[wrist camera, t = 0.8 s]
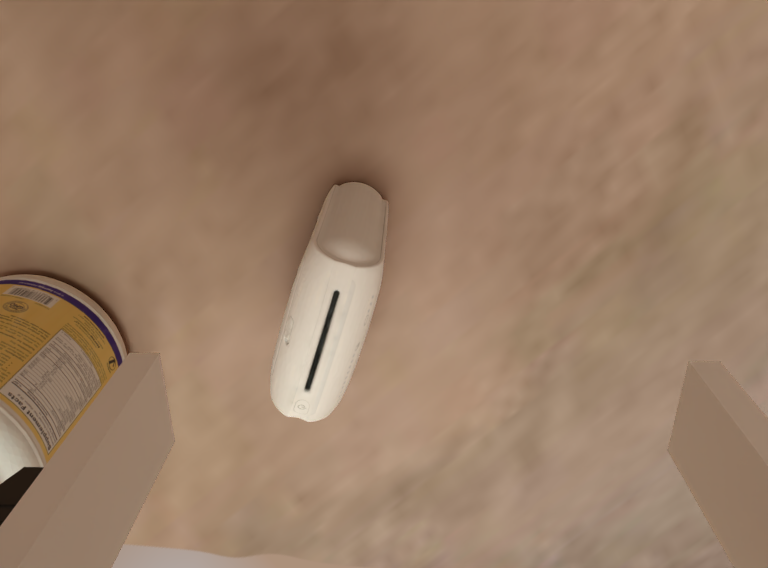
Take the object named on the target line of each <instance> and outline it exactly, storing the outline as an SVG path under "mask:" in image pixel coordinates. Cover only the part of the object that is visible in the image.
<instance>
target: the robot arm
mask: <svg viewBox="0 0 768 568" xmlns="http://www.w3.org/2000/svg"><path fill="white" fill-rule="evenodd" d="M174 442H175V438H174V433H173V427H172V421H171V415H170V410H169V404H168V398H167V392H166V386H165V381H164V375H163V369H162V363H161V358H160V353H129V354H128V355H127V357H126V358H125V359H124V361H123V362H122V363H121V365H120V366H119V368H118V369H117V370H116V372H115V373H114V374H113V376H112V377H111V378H110V380H109V381H108V382H107V384H106V385H105V386H104V388H103V389H102V390H101V392H100V393H99V394H98V396H97V397H96V398H95V400H94V401H93V402H92V404H91V405H90V406H89V408H88V409H87V411H86V412H85V413H84V415H83V416H82V417H81V419H80V420H79V421H78V423H77V424H76V425H75V427H74V428H73V429H72V431H71V432H70V433H69V435H68V436H67V437H66V439H65V440H64V441H63V443H62V444H61V445H60V447H59V448H58V449H57V451H56V452H55V453H54V455H53V456H52V458H51V459H50V460H49V462H48V463H47V464H46V466H45V467H23V468H22V469H21V470H19V471H18V472H16V473H15V474H14V475H12V476H11V477H9V478H8V479H7V480H5V481H4V482H3V483H1V484H0V568H111V567H112V566H113V564H114V561H115V560H116V558H117V556H118V554H119V552H120V550H121V548H122V546H123V544H124V542H125V540H126V538H127V536H128V534H129V532H130V530H131V528H132V526H133V524H134V522H135V520H136V518H137V516H138V514H139V512H140V510H141V508H142V506H143V504H144V502H145V500H146V498H147V496H148V494H149V492H150V490H151V488H152V486H153V484H154V482H155V480H156V478H157V476H158V474H159V472H160V470H161V468H162V466H163V464H164V462H165V460H166V458H167V456H168V454H169V452H170V450H171V448H172V446H173V444H174ZM668 452H669V454H670V455H671V457H672V459H673V461H674V463H675V464H676V466H677V468H678V470H679V471H680V473H681V475H682V477H683V478H684V480H685V482H686V484H687V486H688V487H689V489H690V491H691V493H692V494H693V496H694V498H695V500H696V501H697V503H698V505H699V507H700V509H701V510H702V512H703V514H704V516H705V517H706V519H707V521H708V523H709V525H710V526H711V528H712V530H713V532H714V533H715V535H716V537H717V539H718V540H719V542H720V544H721V546H722V548H723V549H724V551H725V553H726V555H727V556H728V558H729V560H730V562H731V563H732V565H733V567H734V568H768V418H767V417H766V416H765V414H764V413H763V412H762V411H761V410H760V408H759V407H758V406H757V405H756V404H755V402H754V401H753V400H752V399H751V398H750V397H749V395H748V394H747V393H746V392H745V391H744V389H743V388H742V387H741V386H740V385H739V383H738V382H737V381H736V380H735V379H734V377H733V376H732V375H731V374H730V373H729V371H728V370H727V369H726V368H725V367H724V365H723V364H722V363H721V362H718V361H689V362H688V366H687V370H686V374H685V379H684V383H683V387H682V391H681V396H680V400H679V404H678V408H677V412H676V417H675V421H674V425H673V429H672V434H671V438H670V442H669V446H668Z"/></svg>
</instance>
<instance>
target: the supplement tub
mask: <svg viewBox="0 0 768 568" xmlns="http://www.w3.org/2000/svg"><path fill="white" fill-rule="evenodd" d="M126 357H127V352H126V348H125V345H124V342H123V339H122V337H121V335H120V333H119V331H118V329H117V327H116V326H115V324H114V323H113V321H112V320H111V319H110V317H109V316H108V315H107V313H106V312H105V311H104V310H103V309H102V308H101V307H100V306H99V305H98V304H97V303H96V302H95V301H93V300H92V299H91V298H89V297H88V296H87V295H85V294H84V293H82V292H81V291H79V290H78V289H76V288H74V287H72V286H70V285H68V284H66V283H64V282H61V281H59V280H56V279H53V278H49V277H46V276H40V275H29V274H21V275H10V276H4V277H0V484H1V483H3V482H4V481H5V480H7V479H8V478H9V477H11V476H12V475H14V474H15V473H16V472H18V471H19V470H21V469H22V468H23V467H45V466H46V464H47V463H48V462H49V460H50V459H51V458H52V456H53V455H54V453H55V452H56V451H57V449H58V448H59V447H60V445H61V444H62V443H63V441H64V440H65V439H66V437H67V436H68V435H69V433H70V432H71V431H72V429H73V428H74V427H75V425H76V424H77V423H78V421H79V420H80V419H81V417H82V416H83V415H84V413H85V412H86V411H87V409H88V408H89V406H90V405H91V404H92V402H93V401H94V400H95V398H96V397H97V396H98V394H99V393H100V392H101V390H102V389H103V388H104V386H105V385H106V384H107V382H108V381H109V380H110V378H111V377H112V376H113V374H114V373H115V372H116V370H117V369H118V368H119V366H120V365H121V363H122V362H123V361H124V359H125V358H126Z"/></svg>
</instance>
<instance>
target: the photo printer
mask: <svg viewBox="0 0 768 568" xmlns="http://www.w3.org/2000/svg"><path fill="white" fill-rule="evenodd" d="M388 209H389V204H388V201H387V200H384V199H382V197H381V195H380V194H379V193H378V192H377V191H376V190H375V189H374V188H372V187H370V186H369V185H366V184H364V183H359V182H349V183H344V184H342V185H340V186H338V185H334V186H333V187H332V188H331V190H330V191H329V193H328V195H327V197H326V199H325V201H324V203H323V206H322V209H321V211H320V214H319V216H318V220H317V223H316V225H315V228H314V230H313V233H312V236H311V238H310V241H309V243H308V246H307V248H306V251H305V253H304V256H303V258H302V260H301V263H300V266H299V267H298V270H297V275H296V277H295V280H294V283H293V286H292V290H291V293H290V296H289V299H288V303H287V306H286V309H285V313H284V317H283V320H282V324H281V327H280V331H279V335H278V339H277V343H276V347H275V351H274V355H273V360H272V366H271V375H270V392H271V398H272V401H273V403H274V405H275V406H276V407H277V409H278V410H279V411H280V412H281V413H282V414H283V415H285V416H287V417H297V418H300V419H303V420H305V421H307V422H314V421H318V420H321V419H323V418H326V417H327V416H329V415H330V414H331V413H332V411H333V410H334V409H335V408H336V406H337V405H338V404H339V402H340V401H341V399H342V397H343V395H344V393H345V391H346V389H347V387H348V384H349V382H350V379H351V377H352V375H353V372H354V369H355V367H356V364H357V361H358V359H359V356H360V353H361V350H362V347H363V344H364V341H365V338H366V335H367V332H368V329H369V326H370V322H371V319H372V316H373V312H374V309H375V306H376V302H377V299H378V295H379V291H380V287H381V283H382V277H383V269H384V259H385V248H386V237H387V225H388Z"/></svg>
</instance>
